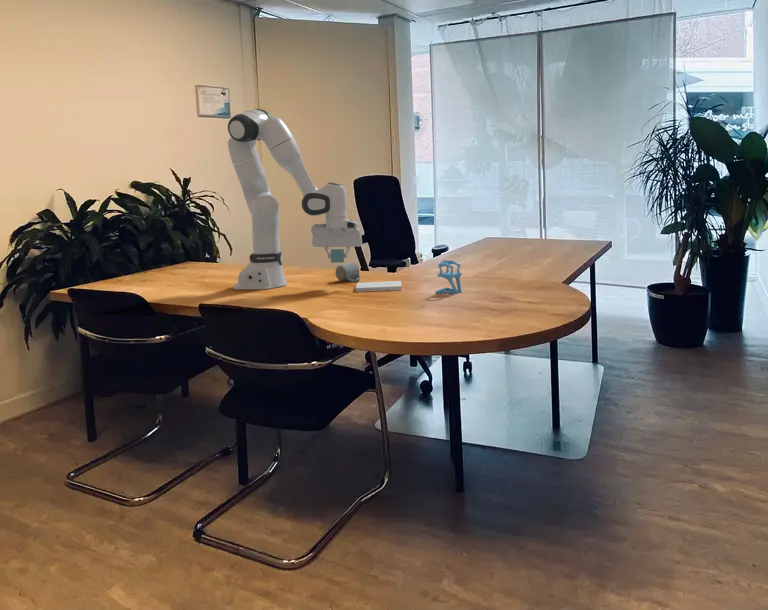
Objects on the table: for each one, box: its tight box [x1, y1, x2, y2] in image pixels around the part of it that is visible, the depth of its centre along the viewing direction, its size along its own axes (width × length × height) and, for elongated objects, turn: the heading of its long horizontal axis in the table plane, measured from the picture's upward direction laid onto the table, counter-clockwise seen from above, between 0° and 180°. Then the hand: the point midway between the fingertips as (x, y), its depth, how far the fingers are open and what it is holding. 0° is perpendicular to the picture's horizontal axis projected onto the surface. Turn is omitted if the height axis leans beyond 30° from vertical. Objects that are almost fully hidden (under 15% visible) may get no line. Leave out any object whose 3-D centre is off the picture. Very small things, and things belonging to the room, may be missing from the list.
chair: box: [435, 259, 463, 295], centre depth 241 cm, size 8×8×12 cm
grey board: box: [355, 280, 403, 293], centre depth 258 cm, size 18×12×2 cm, turn 89°
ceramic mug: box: [335, 261, 361, 283], centre depth 278 cm, size 11×8×8 cm
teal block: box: [330, 248, 345, 264], centre depth 264 cm, size 5×5×5 cm
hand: (337, 257), depth 264 cm, fingers closed on teal block, 5 cm apart
